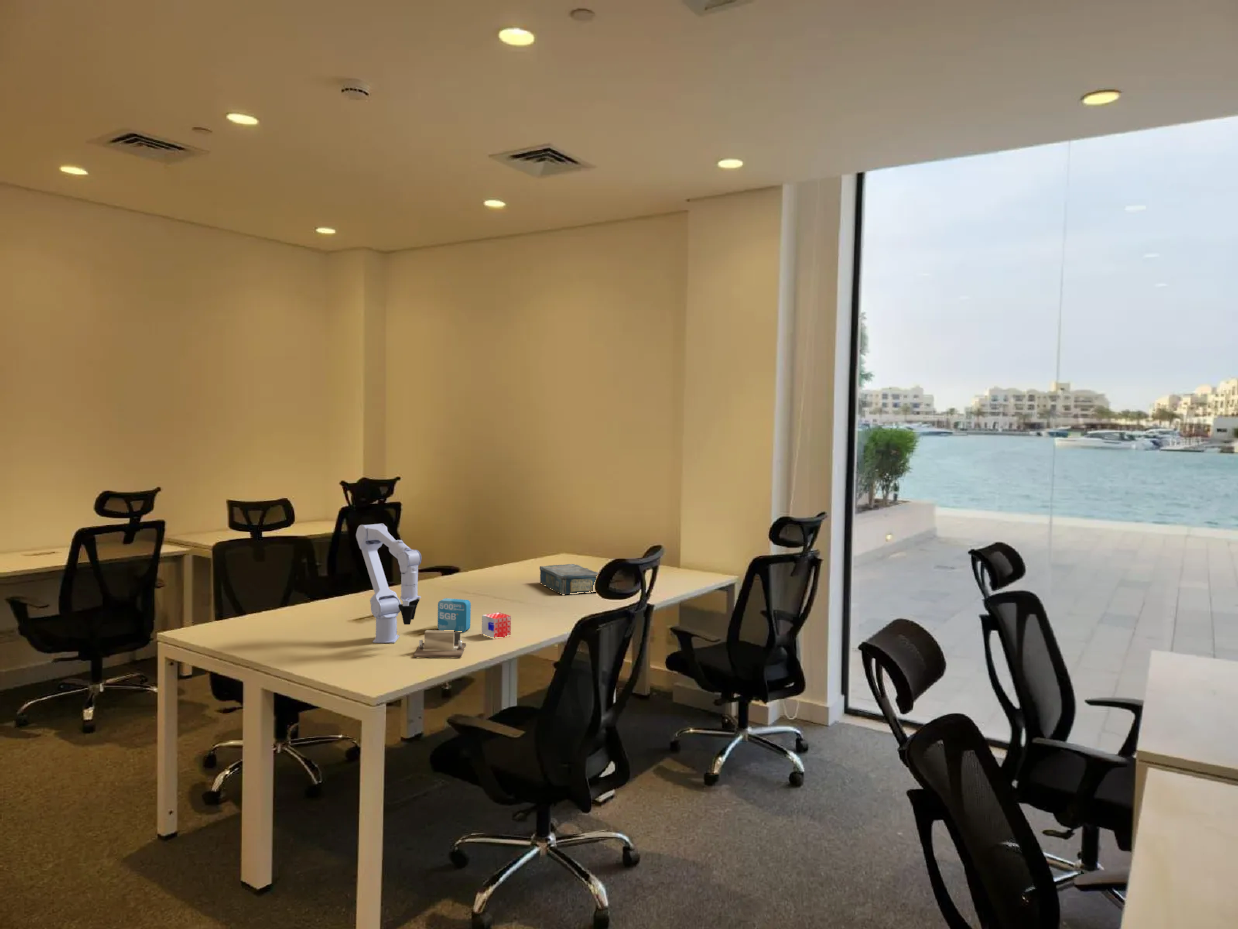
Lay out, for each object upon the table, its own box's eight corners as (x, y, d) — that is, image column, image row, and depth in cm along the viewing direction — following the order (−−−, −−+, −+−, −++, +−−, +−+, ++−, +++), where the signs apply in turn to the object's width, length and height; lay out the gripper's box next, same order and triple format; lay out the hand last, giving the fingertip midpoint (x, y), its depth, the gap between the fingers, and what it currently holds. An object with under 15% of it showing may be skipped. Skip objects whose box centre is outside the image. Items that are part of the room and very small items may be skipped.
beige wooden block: (425, 647, 289) (425, 630, 289) (454, 647, 290) (454, 630, 290) (424, 649, 286) (424, 632, 286) (453, 649, 287) (453, 632, 287)
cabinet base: (421, 645, 295) (421, 632, 295) (465, 645, 297) (466, 632, 296) (413, 658, 279) (413, 643, 279) (460, 658, 281) (461, 643, 280)
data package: (437, 630, 318) (437, 600, 317) (442, 627, 322) (442, 597, 322) (465, 633, 315) (466, 602, 315) (470, 630, 320) (471, 600, 319)
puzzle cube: (510, 636, 312) (511, 615, 312) (493, 639, 307) (494, 618, 306) (498, 632, 318) (498, 612, 318) (481, 635, 312) (481, 615, 312)
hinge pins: (419, 648, 288) (419, 640, 288) (461, 648, 289) (462, 640, 289) (419, 649, 287) (419, 640, 287) (461, 649, 288) (461, 641, 288)
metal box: (560, 596, 390) (561, 576, 390) (537, 584, 419) (538, 565, 419) (601, 593, 399) (601, 573, 399) (576, 582, 428) (576, 563, 428)
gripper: (417, 588, 284) (416, 626, 285) (424, 580, 299) (423, 617, 299) (396, 588, 284) (396, 626, 284) (404, 580, 298) (403, 617, 298)
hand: (408, 621), depth 292 cm, fingers open, 7 cm apart
